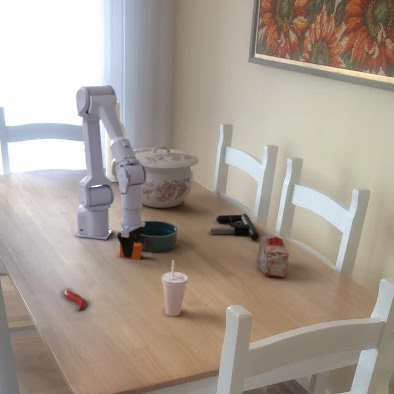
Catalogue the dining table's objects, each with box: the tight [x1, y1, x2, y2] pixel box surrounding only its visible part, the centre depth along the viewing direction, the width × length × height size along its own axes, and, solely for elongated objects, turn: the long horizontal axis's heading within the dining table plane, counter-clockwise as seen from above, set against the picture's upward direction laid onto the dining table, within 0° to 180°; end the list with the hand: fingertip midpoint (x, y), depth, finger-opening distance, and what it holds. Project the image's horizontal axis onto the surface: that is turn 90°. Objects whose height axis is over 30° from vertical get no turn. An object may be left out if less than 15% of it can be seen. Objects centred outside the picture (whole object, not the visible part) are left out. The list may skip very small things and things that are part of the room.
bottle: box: [104, 100, 126, 183], centre depth 229 cm, size 8×8×30 cm
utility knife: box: [119, 243, 152, 260], centre depth 169 cm, size 9×3×4 cm, turn 82°
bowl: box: [139, 220, 179, 253], centre depth 179 cm, size 14×14×5 cm
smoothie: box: [161, 259, 189, 317], centre depth 139 cm, size 6×6×14 cm
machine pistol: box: [210, 212, 260, 241], centre depth 194 cm, size 3×20×16 cm
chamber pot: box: [111, 145, 199, 209], centre depth 210 cm, size 28×28×21 cm
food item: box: [257, 234, 290, 278], centre depth 167 cm, size 14×8×10 cm, turn 5°
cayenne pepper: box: [64, 288, 87, 312], centre depth 144 cm, size 12×5×2 cm, turn 18°
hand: (130, 252), depth 170 cm, fingers open, 7 cm apart
